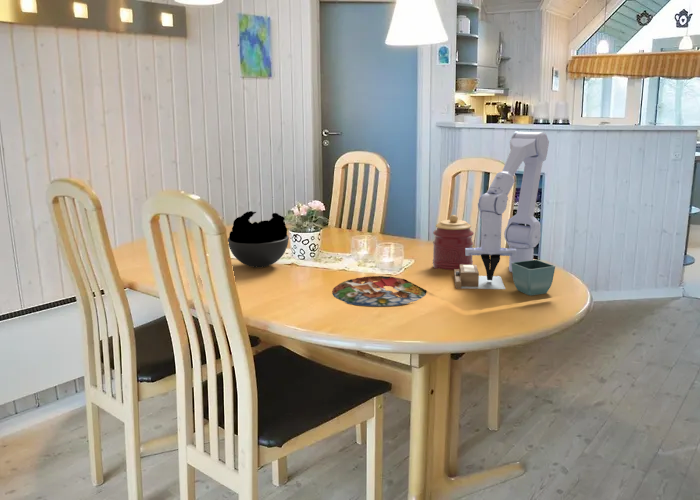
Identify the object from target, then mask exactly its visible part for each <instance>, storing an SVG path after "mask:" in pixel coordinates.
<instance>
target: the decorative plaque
mask: <svg viewBox="0 0 700 500" xmlns="http://www.w3.org/2000/svg"><path fill="white" fill-rule="evenodd" d="M385 287H391V288H392V289H394V290H395V292H393V290H386V288H385ZM427 292H428V291H427V290H426V288H423V287H421V286H418V285H417V284H415V283H413V282H411V281H409V280H407V279H405V278H400V277H394V276H389V275H388V276H387V275H386V276H384V275H375V276H374V275H372V276H371V275H370V276H369V275H368V276H363V277H362V276H361V277H357V278H352V279H347V280H345V281H342V282H340V283H339V284H337V285H336V286H334V287H333V289H332V291H331V294H332V296H333V297H334V298H336V299H337V300H339V301H341V302H343V303H346V304H348V305H354V306H364V307H397V306H399V307H400V306H405V305H406V306H407V305H408V304H410V305H411V304H413V303H414V304H415V303H417V302H416V301H419V300H420V299H423V298H424V297H425V296H426V295H427Z"/></svg>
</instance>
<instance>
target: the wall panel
mask: <svg viewBox="0 0 700 500" xmlns="http://www.w3.org/2000/svg"><path fill="white" fill-rule="evenodd" d="M453 276H454V277H453V278H454V284H455V288H456V289H469V290H470V289H471V290H472V289H475V290H478V289H479V290H481V289H482V290H506V287H505V285H504V281H503V279H502V277H501V276H500V275H493V278H492V280H487V275H479V284H478V287H468V286H461V276H460V271H459V269H454V270H453Z"/></svg>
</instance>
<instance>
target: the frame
mask: <svg viewBox="0 0 700 500" xmlns="http://www.w3.org/2000/svg"><path fill="white" fill-rule="evenodd" d="M459 271H460V276H461V286H468V287H478V284H479V276H480V273H479V269H478V265H477V264H473V265H461V264H460V270H459Z"/></svg>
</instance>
